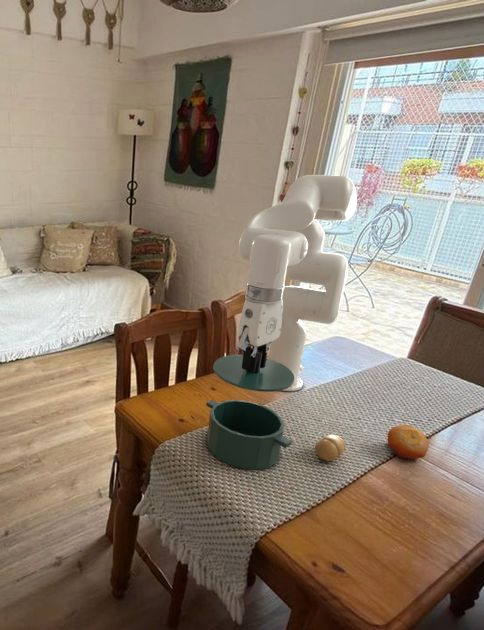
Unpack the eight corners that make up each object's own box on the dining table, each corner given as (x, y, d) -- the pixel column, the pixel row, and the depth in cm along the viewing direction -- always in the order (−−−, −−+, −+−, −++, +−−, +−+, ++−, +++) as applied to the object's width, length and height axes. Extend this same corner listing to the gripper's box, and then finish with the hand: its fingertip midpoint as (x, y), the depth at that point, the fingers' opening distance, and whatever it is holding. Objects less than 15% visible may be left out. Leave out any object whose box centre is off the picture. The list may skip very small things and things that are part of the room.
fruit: (407, 435, 111) (425, 421, 105) (420, 466, 106) (439, 453, 99) (374, 433, 111) (389, 419, 105) (384, 464, 106) (401, 450, 100)
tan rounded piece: (326, 445, 109) (329, 428, 107) (347, 455, 105) (351, 438, 103) (309, 457, 104) (312, 439, 103) (330, 468, 101) (334, 450, 99)
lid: (242, 352, 114) (245, 330, 112) (309, 379, 100) (313, 354, 98) (197, 371, 104) (199, 347, 102) (264, 402, 91) (268, 376, 89)
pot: (226, 417, 121) (229, 389, 118) (303, 458, 104) (309, 427, 101) (185, 437, 112) (187, 408, 109) (262, 486, 95) (267, 453, 92)
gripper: (257, 303, 88) (245, 384, 94) (300, 290, 97) (287, 364, 103) (226, 294, 94) (217, 371, 100) (270, 282, 103) (259, 354, 109)
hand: (253, 367), depth 102 cm, fingers closed on lid, 3 cm apart
